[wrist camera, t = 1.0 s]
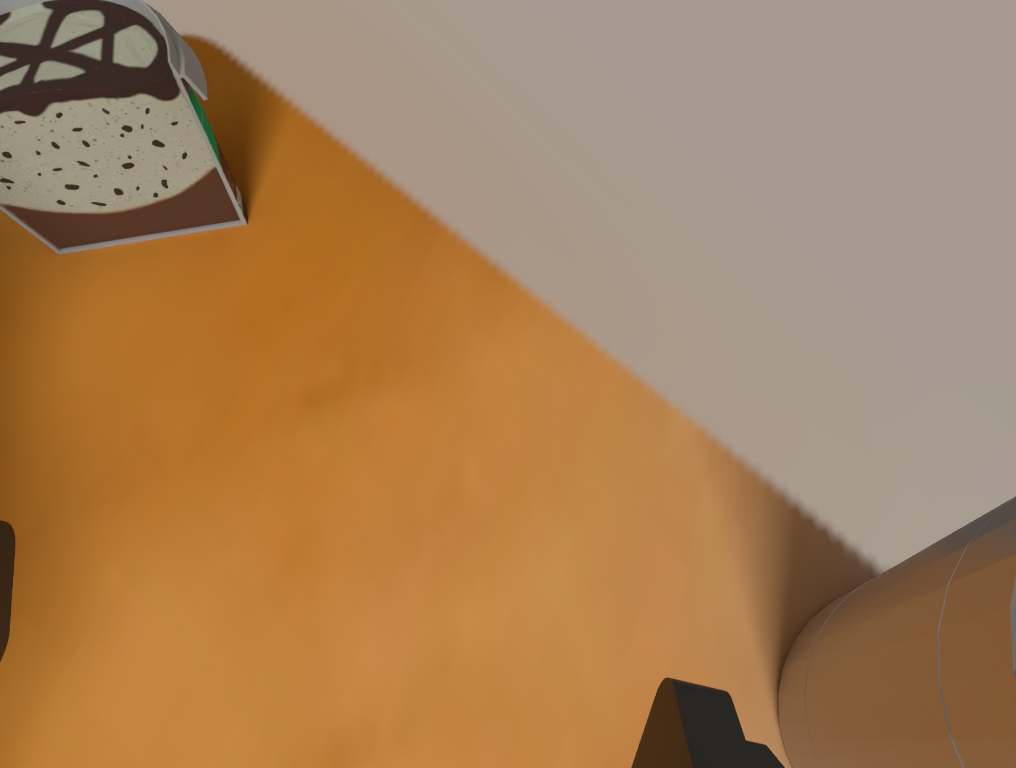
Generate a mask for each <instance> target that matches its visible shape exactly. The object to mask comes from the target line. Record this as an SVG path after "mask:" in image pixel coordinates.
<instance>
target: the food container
mask: <svg viewBox="0 0 1016 768" xmlns="http://www.w3.org/2000/svg"><path fill="white" fill-rule="evenodd" d="M195 91H196V92H197V93H198V94H199V95H200V96H201V98H202V99H203V100H204V101H205V100H207V99H208V95H207V83H206V79H205V75H204V72H203V69H202V65H201V64H200V62H199V60H198V58H197V56H196V55H195V53H194V51H193V50H192V49H191V47H190V46H189V45H188V44H187V43H186V42H185V41H184V40H183V38H182V37H181V36H180V35H179V34H178V33H177V32H176V31H175V30H174V28H173V27H172V26H171V25H170V24H169V23H168V22H167V21H166V20H165V19H164V17H162V15H161V14H160V13H158V12H157V11H156V10H154V9H153V8H151V7H150V6H149V5H147V4H146V3H144V2H143V1H142V0H0V210H1V211H2V212H4V213H5V214H6V215H7V216H9V217H10V218H11V219H13V220H14V221H15V222H17V223H18V224H19V225H20V226H22V227H23V228H24V229H26V230H27V231H28V232H30V233H31V234H32V235H33V236H35V237H36V238H37V239H39V240H40V241H41V242H42V243H44V244H45V245H46V246H48V247H49V248H50V249H52V250H53V251H54V252H55V253H57V254H58V255H60V254H66V253H73V252H79V251H85V250H91V249H98V248H104V247H110V246H116V245H123V244H129V243H135V242H141V241H147V240H154V239H160V238H166V237H172V236H179V235H185V234H191V233H197V232H203V231H210V230H216V229H222V228H228V227H235V226H241V225H247V214H246V205H245V203H244V200H243V198H242V196H241V194H240V191H239V189H238V187H237V185H236V183H235V180H234V178H233V176H232V174H231V171H230V169H229V167H228V165H227V162H226V160H225V158H224V156H223V153H222V151H221V149H220V147H219V144H218V142H217V140H216V138H215V135H214V133H213V131H212V129H211V126H210V124H209V122H208V120H207V117H206V115H205V113H204V111H203V108H202V106H201V104H200V102H199V99H198V97H197V95H196V93H195Z"/></svg>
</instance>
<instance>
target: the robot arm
mask: <svg viewBox="0 0 1016 768" xmlns="http://www.w3.org/2000/svg"><path fill="white" fill-rule="evenodd" d="M14 557H15V533H14V530H13V528H12V526H11V525H10V524H9V523H7V522H4V521H0V661H1V659H2V657H3V654H4V652H5V649H6V646H7V642H8V638H9V631H10V616H11V601H12V586H13V572H14ZM778 708H779V727H780V731H781V735H782V739H783V743H784V747H785V752H786V756H787V758H788V760H789V763H790V765H791V767H792V768H1016V497H1014V498H1013V499H1011V500H1009V501H1007V502H1005V503H1004V504H1002V505H1000V506H999V507H997V508H995V509H993V510H992V511H990V512H988V513H986V514H985V515H983V516H982V517H980V518H978V519H976V520H974V521H973V522H971V523H969V524H967V525H966V526H964V527H962V528H960V529H959V530H957V531H955V532H953V533H952V534H950V535H948V536H947V537H945V538H943V539H941V540H940V541H938V542H936V543H934V544H933V545H931V546H929V547H927V548H926V549H924V550H922V551H921V552H919V553H917V554H915V555H914V556H912V557H910V558H908V559H907V560H905V561H903V562H901V563H900V564H898V565H896V566H895V567H893V568H891V569H889V570H888V571H886V572H884V573H882V574H881V575H879V576H877V577H875V578H873V579H871V580H869V581H868V582H866V583H864V584H862V585H861V586H859V587H857V588H855V589H854V590H852V591H850V592H849V593H847V594H845V595H843V596H842V597H840V598H838V599H836V600H835V601H833V602H831V603H830V604H828V605H827V606H826V607H824V608H823V609H822V610H821V611H820V612H818V613H817V614H816V615H815V616H814V617H813V618H811V619H810V620H809V621H808V622H807V624H806V625H805V626H804V628H803V629H802V631H801V632H800V633H799V635H798V636H797V637H796V639H795V640H794V642H793V644H792V646H791V648H790V651H789V653H788V656H787V658H786V661H785V663H784V665H783V669H782V675H781V680H780V686H779V692H778ZM632 768H785V767H784V766H783V765H782V764H781V763H780V761H779V760H778V759H777V758H776V756H775V755H774V754H773V753H772V751H771V750H770V749H769V748H768V747H767V745H763V744H759V743H755V742H750V741H746V740H745V737H744V734H743V731H742V728H741V725H740V722H739V719H738V716H737V713H736V710H735V707H734V704H733V701H732V698H731V696H730V695H729V693H728V692H726V691H724V690H719V689H715V688H711V687H706V686H702V685H698V684H693V683H689V682H685V681H681V680H676V679H672V678H665V679H664V680H663V681H662V682H661V684H660V686H659V688H658V690H657V693H656V696H655V699H654V702H653V705H652V708H651V711H650V714H649V717H648V720H647V723H646V726H645V729H644V732H643V735H642V738H641V741H640V744H639V747H638V750H637V753H636V756H635V759H634V762H633V765H632Z"/></svg>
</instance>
